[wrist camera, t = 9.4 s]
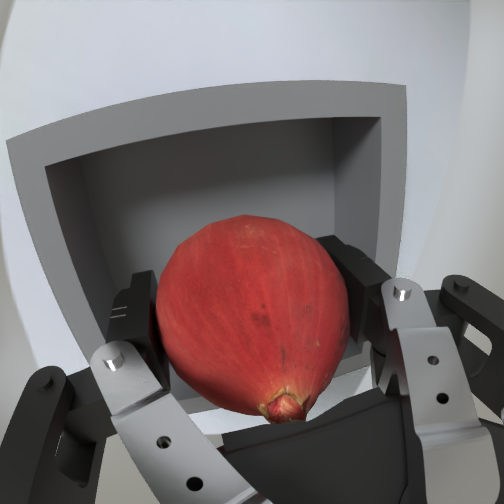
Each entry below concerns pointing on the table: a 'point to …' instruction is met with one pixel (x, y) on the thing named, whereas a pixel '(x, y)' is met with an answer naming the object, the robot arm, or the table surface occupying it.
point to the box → (208, 185)
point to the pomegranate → (254, 317)
